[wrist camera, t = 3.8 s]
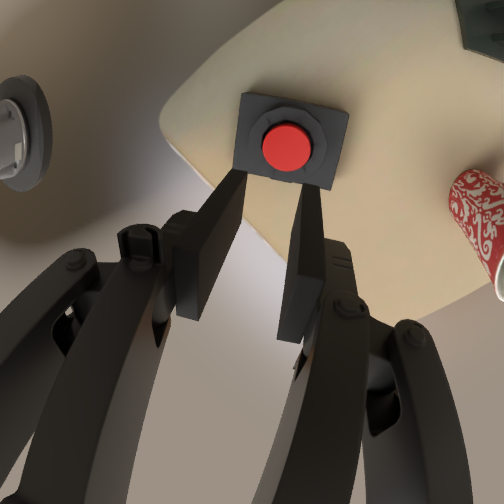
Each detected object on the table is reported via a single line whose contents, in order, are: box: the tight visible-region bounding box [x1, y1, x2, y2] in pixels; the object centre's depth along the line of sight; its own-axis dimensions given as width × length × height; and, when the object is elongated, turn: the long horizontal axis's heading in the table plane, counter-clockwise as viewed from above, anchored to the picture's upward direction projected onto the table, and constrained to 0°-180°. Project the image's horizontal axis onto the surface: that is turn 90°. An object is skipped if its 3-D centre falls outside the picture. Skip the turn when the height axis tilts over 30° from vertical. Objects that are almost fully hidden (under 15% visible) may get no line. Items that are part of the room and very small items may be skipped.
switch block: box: [232, 92, 349, 191], centre depth 25 cm, size 10×8×4 cm
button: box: [263, 123, 311, 171], centre depth 23 cm, size 4×4×2 cm
